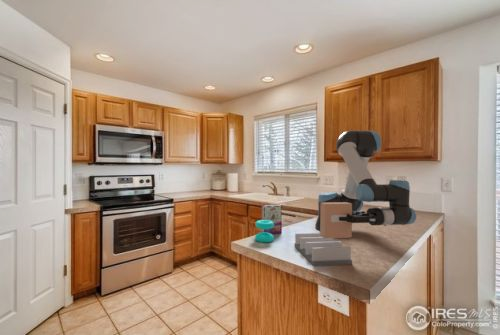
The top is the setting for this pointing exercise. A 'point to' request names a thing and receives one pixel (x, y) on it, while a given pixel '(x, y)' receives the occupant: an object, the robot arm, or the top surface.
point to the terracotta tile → (335, 228)
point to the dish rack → (322, 249)
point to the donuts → (264, 235)
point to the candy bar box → (273, 217)
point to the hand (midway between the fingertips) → (328, 217)
